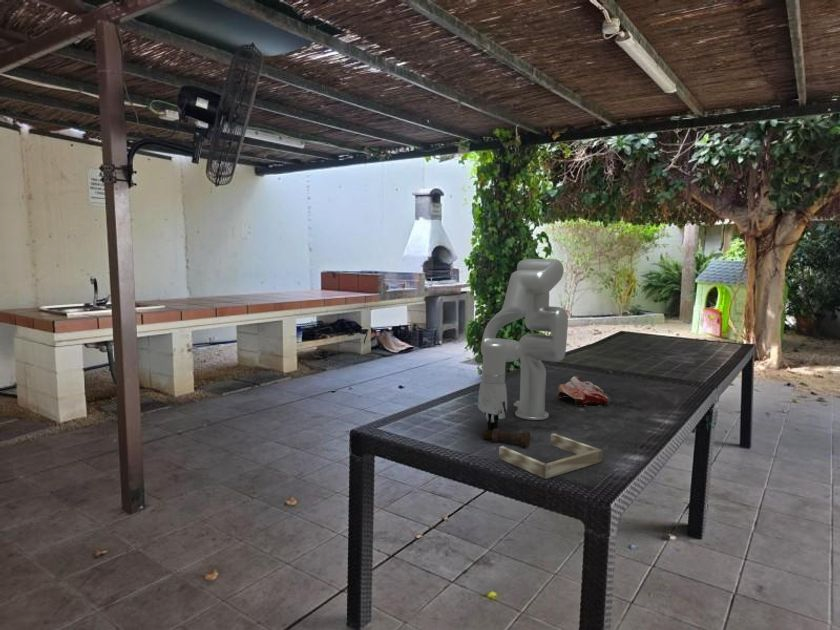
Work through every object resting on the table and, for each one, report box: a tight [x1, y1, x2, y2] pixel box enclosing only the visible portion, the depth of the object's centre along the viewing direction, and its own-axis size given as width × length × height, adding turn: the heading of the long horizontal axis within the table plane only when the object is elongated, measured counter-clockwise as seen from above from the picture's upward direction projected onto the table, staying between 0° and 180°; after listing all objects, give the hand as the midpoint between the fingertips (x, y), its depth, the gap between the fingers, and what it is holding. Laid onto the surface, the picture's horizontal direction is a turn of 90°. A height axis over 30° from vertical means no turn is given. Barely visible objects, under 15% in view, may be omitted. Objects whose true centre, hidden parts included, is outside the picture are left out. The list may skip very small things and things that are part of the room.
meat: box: [557, 376, 609, 407], centre depth 229 cm, size 21×21×10 cm
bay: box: [498, 433, 603, 480], centre depth 159 cm, size 18×24×4 cm
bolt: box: [482, 427, 531, 449], centre depth 174 cm, size 6×5×15 cm
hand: (492, 432), depth 180 cm, fingers closed
